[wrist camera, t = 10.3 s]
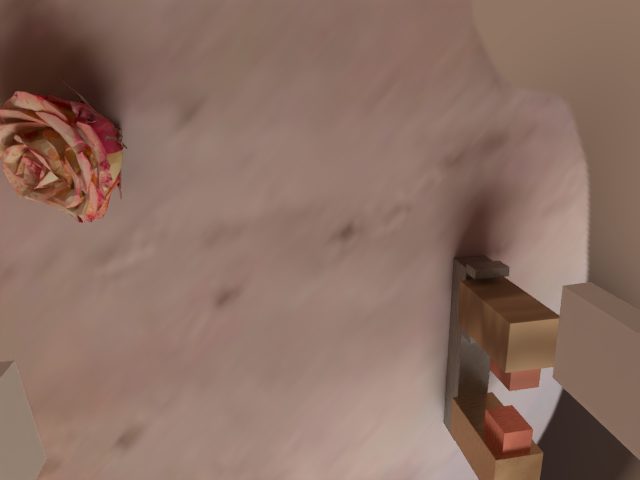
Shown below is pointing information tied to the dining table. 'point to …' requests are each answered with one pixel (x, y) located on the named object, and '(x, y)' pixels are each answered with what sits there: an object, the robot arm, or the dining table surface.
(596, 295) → the robot arm
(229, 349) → the dining table surface
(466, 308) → the walnut finger
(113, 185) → the flower
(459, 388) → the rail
